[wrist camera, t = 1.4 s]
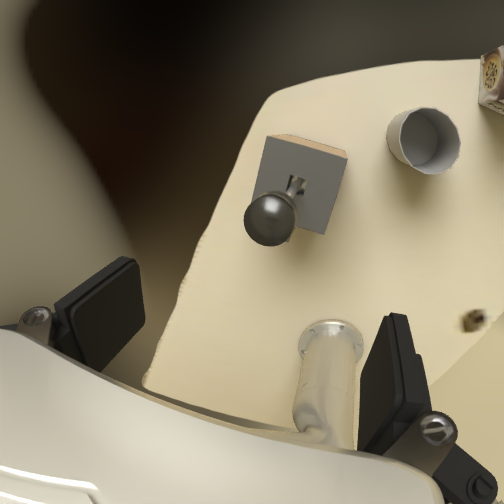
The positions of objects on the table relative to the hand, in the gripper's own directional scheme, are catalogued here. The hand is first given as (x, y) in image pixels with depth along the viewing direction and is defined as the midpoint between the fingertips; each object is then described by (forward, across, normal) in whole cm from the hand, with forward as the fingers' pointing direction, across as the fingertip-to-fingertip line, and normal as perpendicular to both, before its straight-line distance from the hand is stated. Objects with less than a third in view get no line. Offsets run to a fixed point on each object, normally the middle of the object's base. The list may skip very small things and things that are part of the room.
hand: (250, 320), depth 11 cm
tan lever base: (+38, +2, +2) cm, 39 cm away
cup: (+39, -14, -8) cm, 42 cm away
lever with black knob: (+27, +2, 0) cm, 27 cm away
